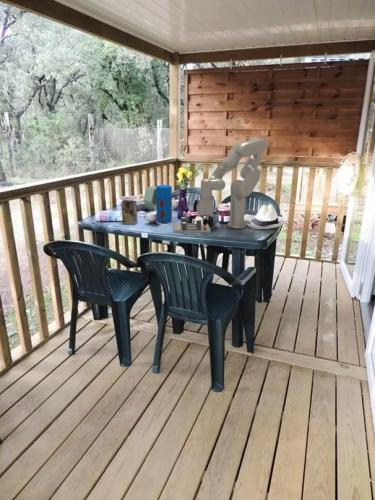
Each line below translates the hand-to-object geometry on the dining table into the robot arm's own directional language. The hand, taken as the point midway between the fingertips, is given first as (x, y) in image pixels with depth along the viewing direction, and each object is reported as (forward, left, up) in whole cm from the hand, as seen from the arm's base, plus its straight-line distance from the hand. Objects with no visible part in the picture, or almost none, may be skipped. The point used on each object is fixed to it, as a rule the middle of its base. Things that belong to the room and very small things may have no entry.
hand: (205, 224), depth 236 cm
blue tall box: (+27, -20, -3) cm, 34 cm away
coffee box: (+51, -14, -3) cm, 53 cm away
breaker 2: (+14, +6, -1) cm, 16 cm away
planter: (+35, -57, -3) cm, 67 cm away
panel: (+9, 0, -3) cm, 10 cm away
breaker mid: (+4, 0, -1) cm, 4 cm away
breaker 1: (+14, -6, -1) cm, 16 cm away
